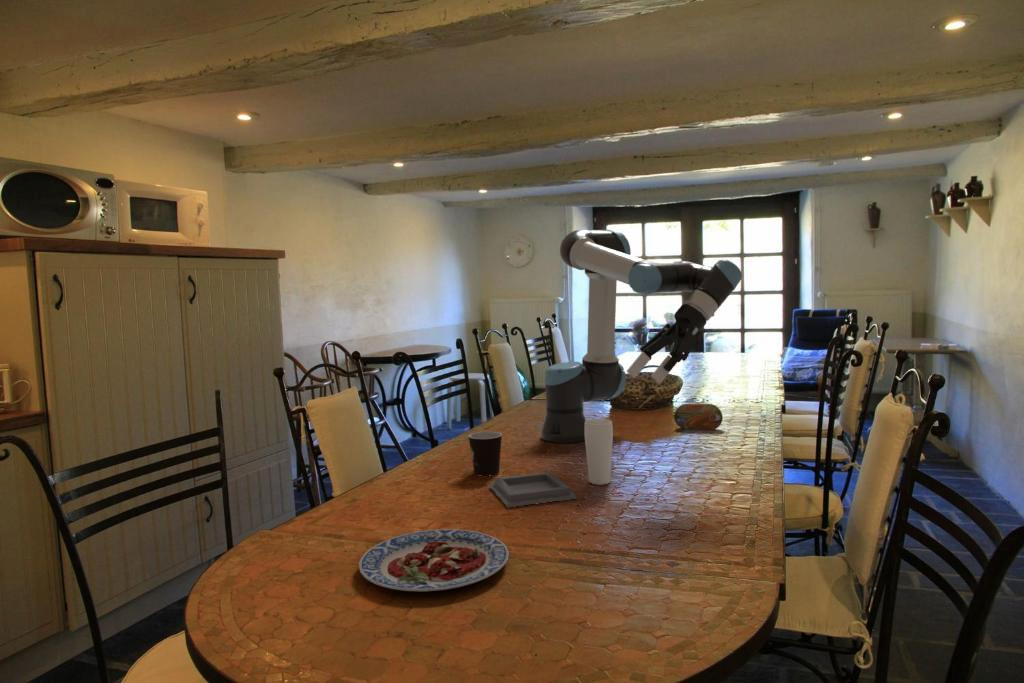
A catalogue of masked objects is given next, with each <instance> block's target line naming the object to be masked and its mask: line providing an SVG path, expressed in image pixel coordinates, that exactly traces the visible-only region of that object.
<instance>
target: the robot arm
mask: <svg viewBox="0 0 1024 683" xmlns="http://www.w3.org/2000/svg"><path fill="white" fill-rule="evenodd" d="M631 251H632V250H631V245H630V242H629V240H628V238H627V237H626V236H625V234H623V232H621V231H618V230H611V229H578V230H573V231H571V232H569V233H568V234H566V235H565V237H564V238H563V239H562V241H561V243H560V247H559V252H560V253H559V254H560V257H561V259H562V261H563V262H564V263H565V264H566V265H567V266H568V267H571V268H573V269H576V270H578V271H579V270H580V271H584V274H585V275H586V276H587V277H588V279H589V281H588V282H589V283H588V310H587V311H588V312H587V315H588V316H587V345H586V346H587V349H586V353H585V355H583V356H582V360H581V362H580V361H567V362H565V361H564V362H558V363H555V364H552V365H550V366H548V367H547V368H546V370H545V373H544V374H545V377H544V384H545V411H546V412H545V416H544V417H545V418H544V420H543V425H542V428H541V431H540V432H541V433H540V434H541V439H542V440H543V441H545V442H549V443H550V442H551V443H556V444H557V443H561V444H565V443H566V444H569V443H578V442H585V434H584V427H585V421H587V419H586V417H585V414H584V403H588V402H594V401H607V400H610V399H614V398H616V397H618V396H619V395H621V394H622V392H623V390H624V388H625V386H626V381H627V380H626V379H627V378H626V372H627V373H628V374H629V376H631V377H632V378H633V379H635V378H636V377H637V376H639V374H640V373H641V371H643V369H644V368H645V367H646V366H647V364H648V363H649V362H650V361H652V357H653V356H654V355H655V354H656V353H658V352H659V351H661V350H662V349H664V348H665V347H667V346H668V345H669V346H672V349H671V351H670V352H668V354H669V355H667V356H666V357H665V358H664V359H663V361H661V363H660V364H659V366H658V367H657V368H656V369H655V371H654V372H652V374H651V378H653V380H655V381H656V383H658V384H661V383H662V382H663V380H665V378H666V377H667V376H668V375H669V373H671V371H673V369H674V367H675V366H676V365H677V364H678V363H680V362H682V361H683V362H685V361H687V359H688V358H689V355H690V353H691V350H692V348H693V346H694V344H695V342H696V339H697V337H699V335H700V333H701V331H702V329H703V328H704V327H705V326H706V325H707V321H709V320H710V319H712V318H713V317H714V316H715V313H716V312H717V310H718V309H719V308H720V307H721V305H722V304H723V303H724V302H726V300H727V298H728V297H729V296H730V295H731V294H732V293H733V292H734V291H735V290H736V287H737V286H738V285H739V283H740V282H741V280H742V279H743V273H742V271H741V269H740V268H739V267H738V265H736V264H735V263H734V262H732V261H731V260H729V259H724V258H722V259H719V260H718V261H717V262H716V263H714V265H713V266H709V265H708V266H707V265H704V264H703V265H702V264H699V263H695V262H691V261H688V260H676V261H674V262H672V263H671V262H670V263H669V262H668V263H667V262H664V263H661V262H660V263H658V262H653V261H649V260H647V259H644V258H640V257H637V256H634V255H632V253H631ZM617 281H618V282H620V283H624V284H627V285H628V286H629V287H630V288H631V289H632V291H633V292H635V293H637V294H645V295H649V294H660V293H680V292H681V293H682V292H683V293H684V292H686V293H690V294H689V295H688V297H687V298H685V300H684V302H683V304H681V306H680V307H679V308H678V309H677V310H676V311H675V313H674V315H673V316H674V319H675V322H674V323H673V324H672V325H670V324H669V323H665V325H664V326H663V327H662V328H661V329H660V330H659V331H658V332H657V333H656V334H654V336H652V337H651V338H649V340H647V342H645V343H644V344H643V345H642V346H641V347H640V348H639V350H640V351H641V353H640V354H639V355H638V357H637V358H636V359H635V360H634V361H633V362H632V364H631V365H630V366H629V367H628V369H627V370H626V371H625V369H624V367H623V365H622V364H621V363H620V362H619V360H620V359H619V357H618V356H617V355H616V354H615V337H616V309H617V307H616V306H617V284H618V283H617Z"/></svg>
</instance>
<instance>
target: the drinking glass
mask: <svg viewBox="0 0 1024 683" xmlns="http://www.w3.org/2000/svg"><path fill="white" fill-rule="evenodd" d="M613 428H614V427H613V421H612V420H611V419H606V418H591V419H586V421H585V427H584V434H585V440H584V445H585V451H586V453H585V454H586V462H587V464H586V465H587V471H588V482H589V483H590V484H591V483H592V485H595V484H596V485H595V486H605V485H608V484H610V482H611V480H612V477H611V475H612V474H611V472H612V457H613V443H614V442H613V440H614V439H613V438H614V437H613V435H614V431H613ZM604 484H605V485H604Z"/></svg>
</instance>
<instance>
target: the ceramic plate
mask: <svg viewBox="0 0 1024 683" xmlns="http://www.w3.org/2000/svg"><path fill="white" fill-rule="evenodd" d="M509 554H510V553H509V549H508V547H507V545H506V544H505V543H503V541H501V540H500V539H498V538H497V537H494V536H491V535H489V534H486V533H484V532H483V533H482V532H480V531H474V530H467V529H456V528H455V529H450V528H449V529H446V528H445V529H444V528H440V529H439V528H438V529H428V530H419V531H415V532H410V533H405V534H401V535H398V536H394V537H391V538H389V539H386V540H384V541H382V542H379V543H378V544H376V545H375V546H372V547H371V548H370V549H368V550H367V551H366V552H365V553H364V554H363V555H362V557H361V558H360V560H359V562H358V563H359V564H358V568H359V572H360V574H361V575H362V576H363V578H365V579H366V580H367V581H369V582H371V583H372V584H374V585H376V586H379V587H383V588H387V589H390V590H397V591H403V592H434V591H445V590H446V591H447V590H452V589H456V588H461V587H464V586H468V585H472V584H475V583H477V582H480V581H482V580H486V579H487V578H489V577H491V576H492V575H494V574H496V573H498V572H499V571H500V570H502V568H503V567H504V566H505V565H506V563H507V562H508V559H509Z"/></svg>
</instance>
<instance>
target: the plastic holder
mask: <svg viewBox="0 0 1024 683" xmlns="http://www.w3.org/2000/svg"><path fill="white" fill-rule="evenodd" d="M489 488H490V489H492V490H493V491H494V492H495V493H496V494H495V493H494V492H493V491H492V490H491V491H492V492H493V493H494V494H495V496H498V497H499V498H500V499H501V500H502V501H501V500H500V499H499V498H498V497H497V498H498V499H499V500H500V501H501V502H502V504H503V503H504V504H505V505H506V506H507V507H513V508H515V507H514V506H521V507H523V506H522V505H529V504H536V503H543V502H551V501H560V500H569V499H576V500H577V494H575V493H574V492H572V490H571V487H570V486H568V485H567V484H566V483H565V482H564V481H562V480H560V479H559V478H558V477H557V476H556V475H554V474H553V473H552V472H550V471H547V472H545V471H544V472H537V473H529V474H519V475H511V476H502V477H495V478H494V482H491V483H489ZM569 501H570V500H569ZM504 504H503V505H504ZM505 505H504V506H505ZM506 506H505V507H506ZM529 506H530V505H529ZM507 507H506V508H507Z"/></svg>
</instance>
